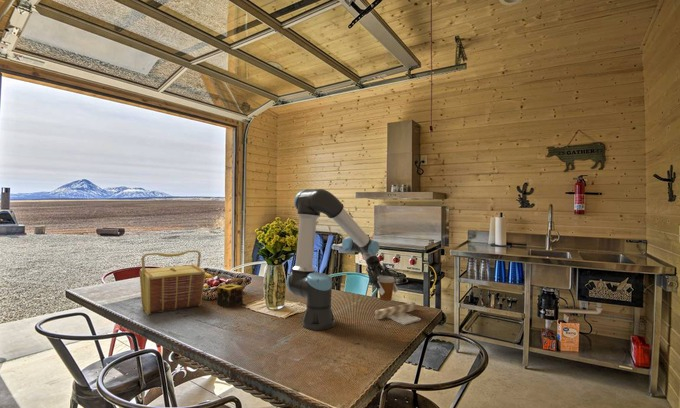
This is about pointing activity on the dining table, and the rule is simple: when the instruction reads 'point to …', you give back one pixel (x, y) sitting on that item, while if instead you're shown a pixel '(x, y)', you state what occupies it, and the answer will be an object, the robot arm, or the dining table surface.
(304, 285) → the robot arm
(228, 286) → the candle
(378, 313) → the jamb strip
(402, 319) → the white napkin
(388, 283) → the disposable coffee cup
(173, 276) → the picnic basket
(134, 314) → the dining table surface
